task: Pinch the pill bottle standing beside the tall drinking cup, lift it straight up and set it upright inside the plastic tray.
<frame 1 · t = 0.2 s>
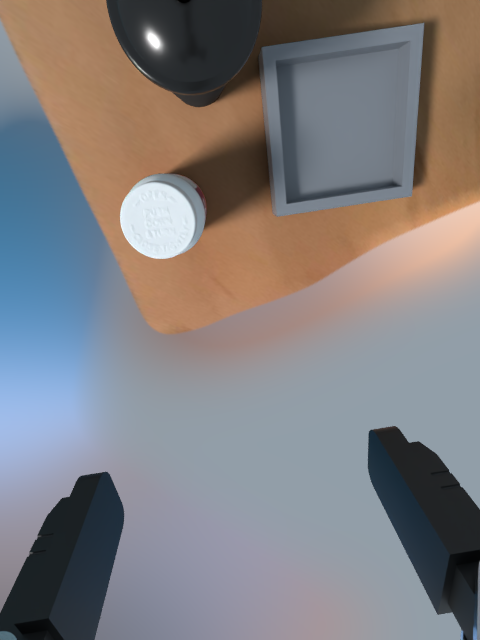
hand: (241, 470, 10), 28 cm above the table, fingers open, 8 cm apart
drinking cup: (197, 75, 29), on the table
pill bottle: (176, 207, 33), on the table
tray: (334, 131, 31), on the table
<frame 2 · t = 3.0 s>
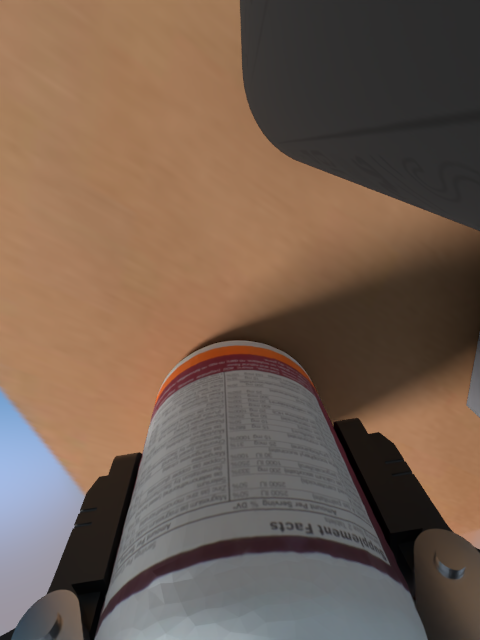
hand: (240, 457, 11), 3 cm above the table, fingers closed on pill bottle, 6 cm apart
drinking cup: (331, 69, 9), on the table
pill bottle: (235, 399, 13), on the table, touching gripper
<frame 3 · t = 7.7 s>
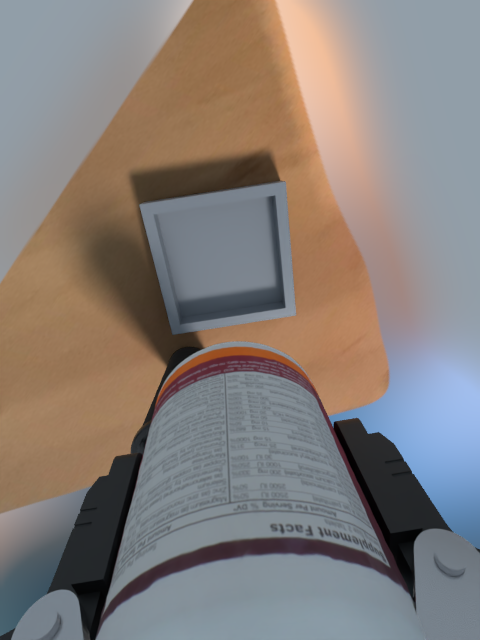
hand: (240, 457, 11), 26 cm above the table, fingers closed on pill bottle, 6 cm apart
drinking cup: (190, 363, 39), on the table
pill bottle: (236, 400, 13), point 23 cm above the table, touching gripper
tray: (223, 258, 34), on the table
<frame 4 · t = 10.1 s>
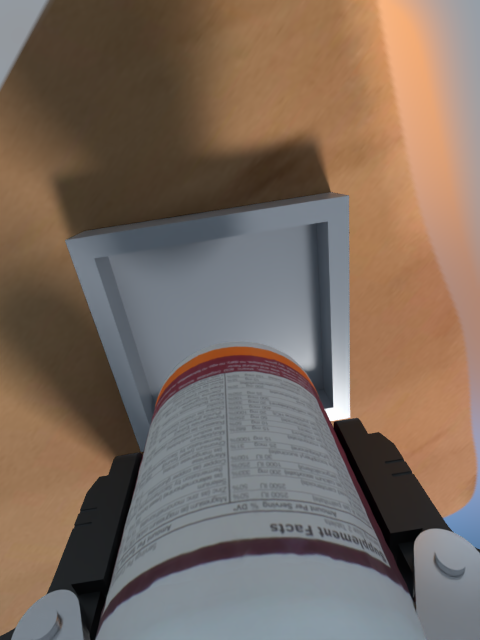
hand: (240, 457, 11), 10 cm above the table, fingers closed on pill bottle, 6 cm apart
pill bottle: (236, 400, 13), point 7 cm above the table, touching gripper
tray: (227, 323, 20), on the table
when the fingers open (5 cm above the table, at t = 12.4 s): pill bottle drops 1 cm, resting on tray.
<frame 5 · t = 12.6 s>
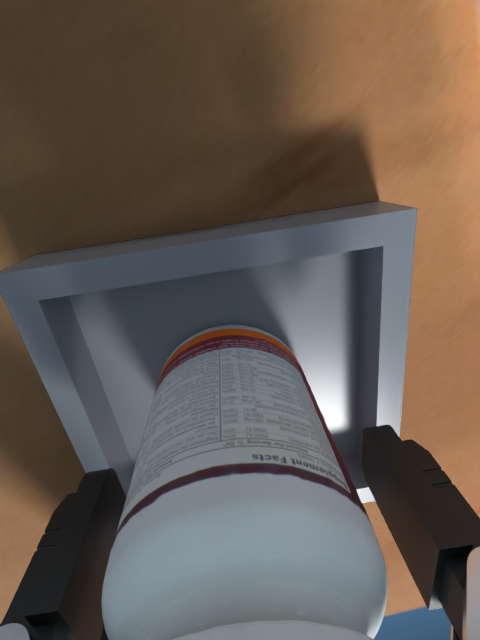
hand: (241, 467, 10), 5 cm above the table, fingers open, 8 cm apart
pill bottle: (231, 380, 15), resting on tray
tray: (233, 373, 15), on the table
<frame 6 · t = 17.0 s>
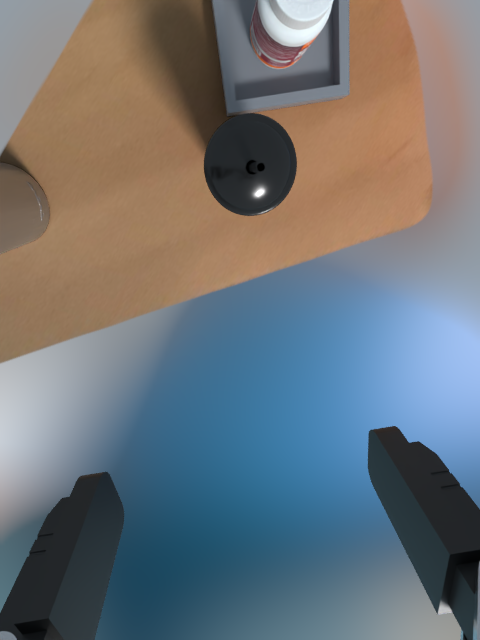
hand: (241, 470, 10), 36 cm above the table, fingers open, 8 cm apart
drinking cup: (239, 167, 40), on the table
pill bottle: (278, 34, 34), resting on tray
tray: (278, 35, 35), on the table
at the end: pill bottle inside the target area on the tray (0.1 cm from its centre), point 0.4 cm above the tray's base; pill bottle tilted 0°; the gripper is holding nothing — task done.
